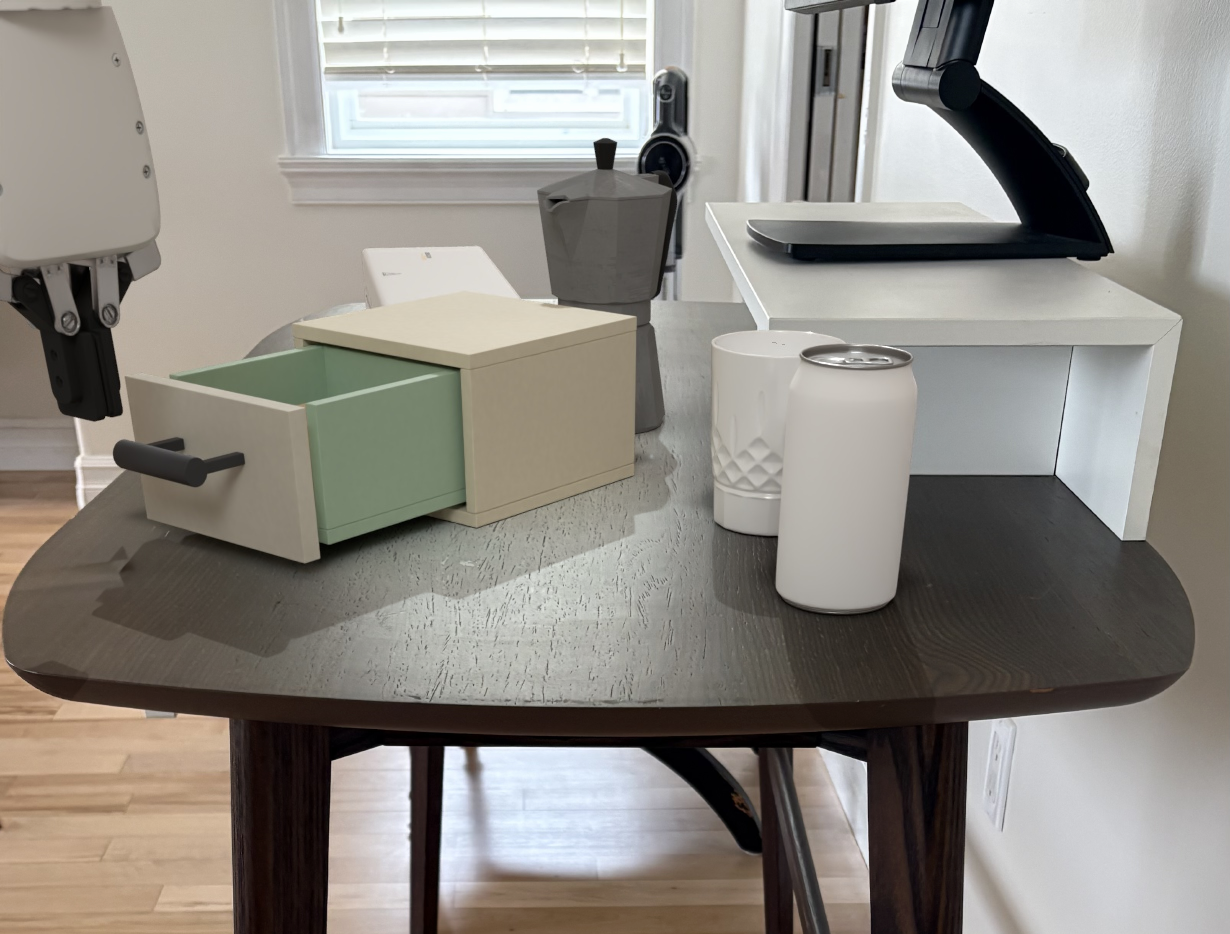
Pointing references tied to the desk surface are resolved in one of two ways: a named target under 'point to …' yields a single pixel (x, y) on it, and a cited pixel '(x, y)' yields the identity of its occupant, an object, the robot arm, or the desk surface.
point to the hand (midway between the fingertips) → (91, 413)
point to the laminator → (429, 274)
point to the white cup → (752, 423)
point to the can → (845, 478)
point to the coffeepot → (613, 255)
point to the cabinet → (515, 391)
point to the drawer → (297, 446)
